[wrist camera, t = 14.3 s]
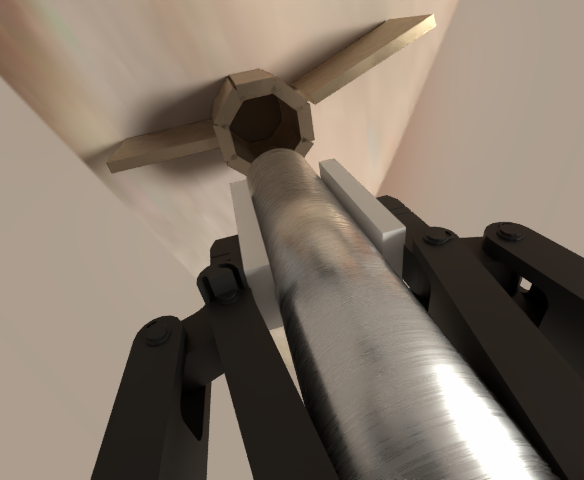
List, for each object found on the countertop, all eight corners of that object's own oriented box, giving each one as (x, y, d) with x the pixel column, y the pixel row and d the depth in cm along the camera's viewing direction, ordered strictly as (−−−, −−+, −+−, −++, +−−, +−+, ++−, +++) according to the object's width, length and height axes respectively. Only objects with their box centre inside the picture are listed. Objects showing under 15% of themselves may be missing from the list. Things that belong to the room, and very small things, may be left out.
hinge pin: (238, 157, 16) (350, 578, 4) (306, 141, 16) (625, 474, 4) (254, 218, 18) (361, 619, 6) (315, 202, 18) (541, 546, 6)
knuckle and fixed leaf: (108, 101, 26) (78, 120, 20) (283, 63, 27) (305, 69, 21) (145, 179, 30) (129, 215, 24) (296, 142, 31) (318, 167, 25)
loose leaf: (296, 95, 29) (317, 108, 24) (290, 84, 28) (310, 94, 23) (392, 32, 28) (436, 30, 23) (389, 19, 27) (433, 14, 22)
